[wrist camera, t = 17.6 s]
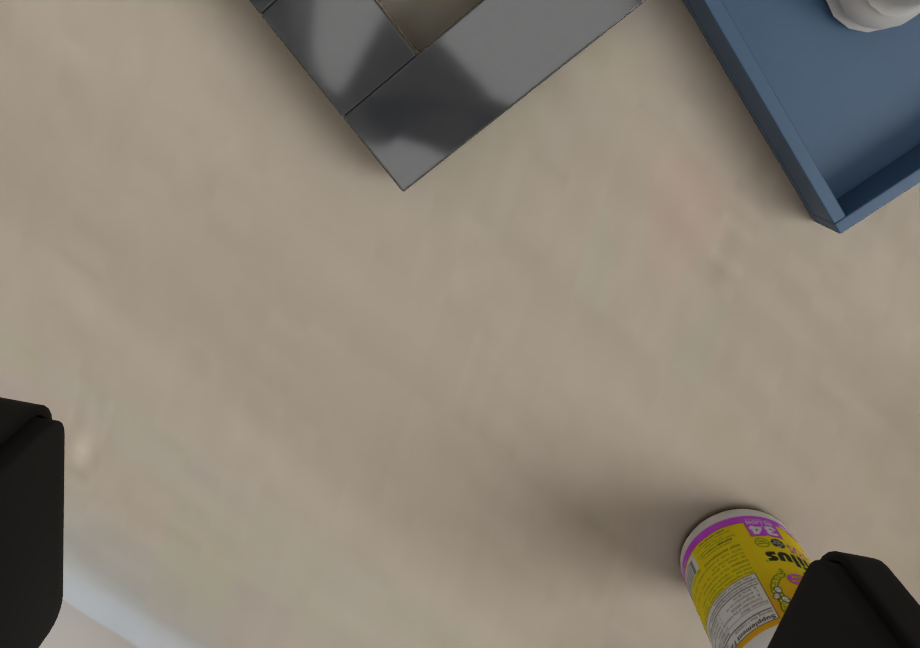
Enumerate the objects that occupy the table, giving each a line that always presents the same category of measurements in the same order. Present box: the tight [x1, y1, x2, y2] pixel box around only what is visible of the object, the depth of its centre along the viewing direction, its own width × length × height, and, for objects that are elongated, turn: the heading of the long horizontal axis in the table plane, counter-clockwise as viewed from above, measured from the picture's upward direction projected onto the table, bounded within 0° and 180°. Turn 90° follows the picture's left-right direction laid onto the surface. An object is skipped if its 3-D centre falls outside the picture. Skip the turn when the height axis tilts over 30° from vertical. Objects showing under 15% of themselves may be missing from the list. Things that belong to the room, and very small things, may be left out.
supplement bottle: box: [680, 509, 811, 648], centre depth 35 cm, size 7×7×13 cm
